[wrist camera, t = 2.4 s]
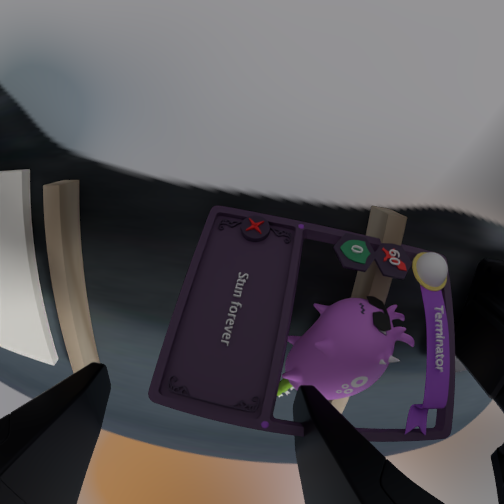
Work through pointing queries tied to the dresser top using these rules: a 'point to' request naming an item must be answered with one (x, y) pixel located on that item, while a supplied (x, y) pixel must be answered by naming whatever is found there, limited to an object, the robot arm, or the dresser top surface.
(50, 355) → the pad
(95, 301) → the dresser top surface
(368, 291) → the rails
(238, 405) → the game card
